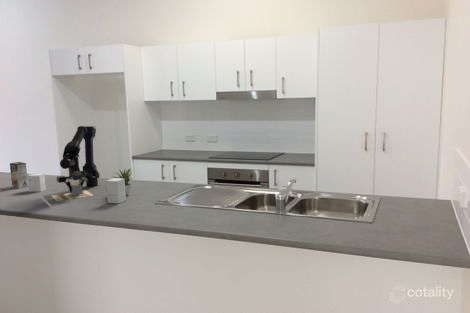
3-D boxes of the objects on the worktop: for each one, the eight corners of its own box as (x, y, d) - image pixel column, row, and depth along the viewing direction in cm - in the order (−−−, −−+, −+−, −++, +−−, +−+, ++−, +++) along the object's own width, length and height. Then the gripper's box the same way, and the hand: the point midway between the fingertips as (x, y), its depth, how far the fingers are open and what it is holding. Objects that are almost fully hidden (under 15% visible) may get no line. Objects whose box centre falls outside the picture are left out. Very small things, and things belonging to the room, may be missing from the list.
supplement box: (126, 200, 218) (125, 178, 216) (118, 203, 211) (117, 181, 209) (115, 199, 220) (114, 177, 218) (107, 202, 213) (105, 180, 211)
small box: (46, 189, 247) (44, 173, 246) (40, 191, 242) (39, 175, 240) (34, 189, 248) (32, 173, 246) (28, 191, 242) (27, 175, 241)
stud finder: (78, 191, 233) (77, 182, 232) (82, 193, 226) (81, 185, 225) (69, 192, 230) (68, 183, 229) (73, 195, 223) (72, 186, 222)
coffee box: (11, 187, 256) (9, 163, 254) (21, 185, 262) (18, 161, 259) (19, 188, 252) (16, 164, 249) (28, 186, 257) (26, 162, 254)
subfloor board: (85, 191, 239) (85, 190, 239) (93, 196, 227) (93, 195, 226) (50, 197, 228) (50, 195, 227) (57, 202, 215) (57, 200, 215)
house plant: (120, 191, 240) (119, 165, 238) (141, 191, 237) (140, 165, 235) (108, 196, 226) (107, 169, 224) (130, 197, 224) (129, 169, 221)
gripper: (59, 169, 214) (62, 197, 216) (94, 165, 225) (96, 191, 227) (55, 166, 222) (57, 193, 225) (88, 163, 233) (90, 188, 236)
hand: (75, 191), depth 228 cm, fingers closed on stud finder, 5 cm apart
